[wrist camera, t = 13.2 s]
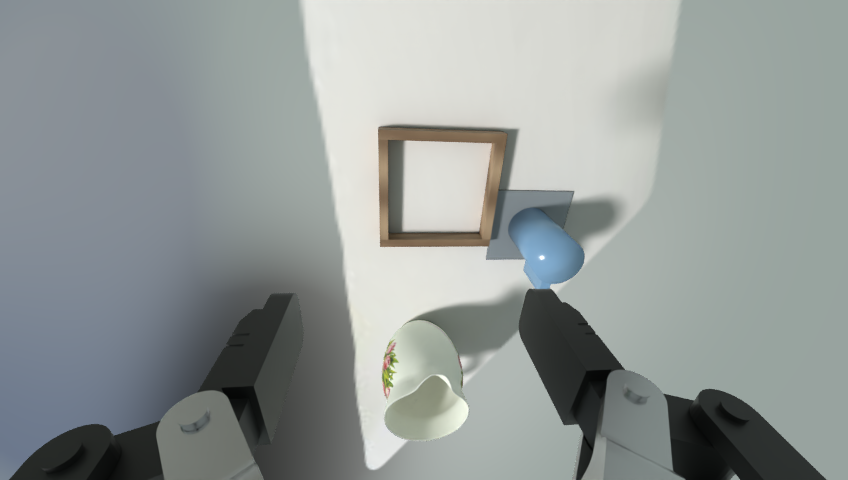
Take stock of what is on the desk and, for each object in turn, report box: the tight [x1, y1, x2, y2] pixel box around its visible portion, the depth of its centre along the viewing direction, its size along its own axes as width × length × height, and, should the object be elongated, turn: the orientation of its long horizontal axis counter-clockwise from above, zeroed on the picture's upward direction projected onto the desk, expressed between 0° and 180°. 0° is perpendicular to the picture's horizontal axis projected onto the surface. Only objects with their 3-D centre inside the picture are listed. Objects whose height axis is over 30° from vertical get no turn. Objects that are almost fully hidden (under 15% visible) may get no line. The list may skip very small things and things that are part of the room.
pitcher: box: [382, 320, 469, 441], centre depth 44 cm, size 11×18×14 cm, turn 172°
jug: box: [508, 208, 584, 289], centre depth 39 cm, size 8×6×9 cm
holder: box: [378, 127, 508, 247], centre depth 38 cm, size 14×14×2 cm
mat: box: [486, 190, 573, 260], centre depth 42 cm, size 10×10×1 cm
